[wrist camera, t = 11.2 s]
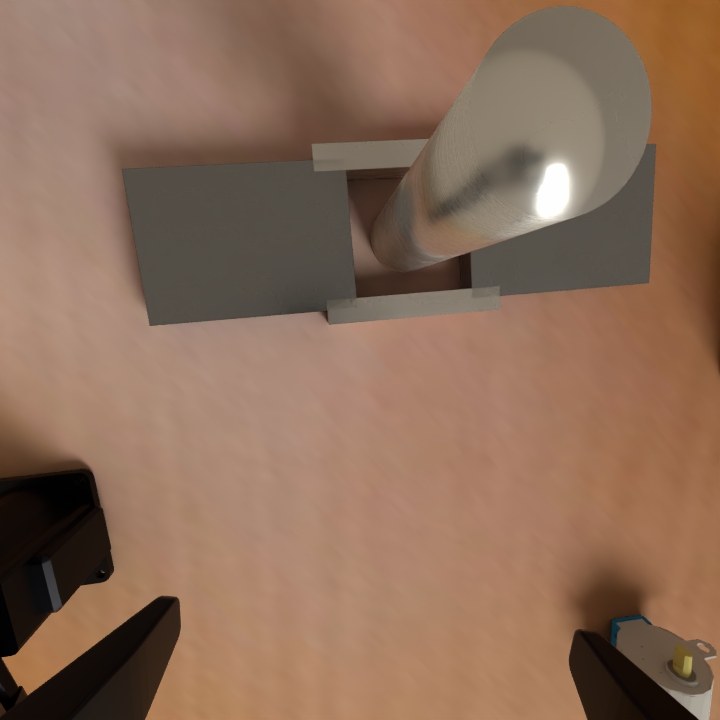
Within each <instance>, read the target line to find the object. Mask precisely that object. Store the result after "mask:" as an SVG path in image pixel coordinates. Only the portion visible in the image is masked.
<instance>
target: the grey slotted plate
mask: <svg viewBox="0 0 720 720" xmlns="http://www.w3.org/2000/svg"><path fill="white" fill-rule="evenodd" d="M428 140H429V139H413V140H389V141H366V142H343V143H320V144H312V159H313V160H303V161H282V162H261V163H240V164H219V165H197V166H176V167H155V168H134V169H122V173H123V178H124V184H125V190H126V195H127V201H128V206H129V212H130V218H131V223H132V229H133V235H134V240H135V246H136V251H137V257H138V263H139V268H140V274H141V279H142V285H143V291H144V296H145V302H146V308H147V313H148V319H149V324H150V326H154V325H166V324H177V323H189V322H201V321H212V320H224V319H236V318H247V317H259V316H271V315H282V314H294V313H306V312H317V311H327V315H328V324H329V325H330V324H342V323H353V322H364V321H375V320H386V319H398V318H409V317H420V316H431V315H442V314H454V313H465V312H476V311H487V310H498V309H500V296H504V295H516V294H528V293H539V292H551V291H563V290H574V289H586V288H598V287H609V286H621V285H633V284H644V283H649V275H650V255H651V235H652V214H653V194H654V174H655V153H656V144H646V147H645V150H644V153H643V155H642V157H641V159H640V162H639V164H638V166H637V167H636V169H635V171H634V173H633V174H632V176H631V177H630V178H629V180H628V181H627V183H626V184H625V185H624V186H623V187H622V188H621V189H620V190H619V192H618V193H617V194H616V195H614V196H613V197H612V198H611V199H610V200H608V201H607V202H606V203H604V204H603V205H601V206H600V207H598V208H596V209H594V210H592V211H590V212H588V213H585V214H582V215H579V216H576V217H573V218H570V219H567V220H564V221H561V222H558V223H555V224H552V225H549V226H546V227H543V228H540V229H537V230H534V231H531V232H528V233H525V234H522V235H519V236H516V237H513V238H510V239H507V240H504V241H501V242H498V243H495V244H492V245H489V246H486V247H483V248H480V249H477V250H474V251H471V252H468V253H465V254H462V255H460V280H461V289H459V290H447V291H435V292H423V293H411V294H399V295H387V296H375V297H363V298H357V297H356V285H355V273H354V261H353V249H352V237H351V225H350V213H349V200H348V188H347V180H358V179H377V178H396V177H404V176H405V175H406V173H407V172H408V170H409V169H410V167H411V166H412V164H413V163H414V161H415V160H416V158H417V157H418V155H419V154H420V152H421V151H422V149H423V148H424V146H425V145H426V143H427V142H428Z"/></svg>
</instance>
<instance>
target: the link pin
mask: <svg viewBox="0 0 720 720" xmlns="http://www.w3.org/2000/svg"><path fill="white" fill-rule="evenodd" d="M651 115H652V100H651V91H650V84H649V80H648V76H647V73H646V70H645V67H644V64H643V62H642V59H641V57H640V55H639V54H638V52H637V50H636V48H635V46H634V45H633V44H632V42H631V41H630V40H629V38H628V37H627V36H626V35H625V34H624V33H623V32H622V31H621V29H620V28H619V27H617V26H616V25H615V24H614V23H612V22H611V21H610V20H608V19H607V18H605V17H603V16H601V15H600V14H598V13H595V12H592V11H590V10H587V9H583V8H578V7H572V6H558V7H549V8H546V9H542V10H538V11H536V12H533V13H531V14H529V15H527V16H525V17H523V18H521V19H520V20H518V21H517V22H515V23H514V24H512V25H511V26H510V27H509V28H508V29H507V30H506V31H504V32H503V33H502V34H501V36H500V37H499V38H498V39H497V40H496V41H495V42H494V44H493V45H492V47H491V48H490V49H489V51H488V52H487V54H486V55H485V57H484V58H483V60H482V61H481V63H480V64H479V66H478V67H477V69H476V70H475V72H474V73H473V75H472V76H471V78H470V79H469V81H468V82H467V84H466V85H465V87H464V88H463V90H462V91H461V93H460V94H459V96H458V97H457V99H456V100H455V102H454V103H453V105H452V106H451V108H450V109H449V111H448V112H447V114H446V115H445V116H444V118H443V119H442V121H441V122H440V124H439V125H438V127H437V128H436V130H435V131H434V133H433V134H432V136H431V137H430V139H429V140H428V142H427V143H426V145H425V146H424V148H423V149H422V151H421V152H420V154H419V155H418V157H417V158H416V160H415V161H414V163H413V164H412V166H411V167H410V169H409V170H408V172H407V173H406V175H405V176H404V178H403V179H402V181H401V182H400V184H399V185H398V187H397V188H396V190H395V191H394V193H393V194H392V196H391V197H390V198H389V200H388V201H387V203H386V204H385V206H384V207H383V209H382V210H381V212H380V213H379V215H378V216H377V218H376V219H375V221H374V224H373V226H372V230H371V245H372V249H373V251H374V254H375V255H376V257H377V259H378V260H379V261H380V262H381V263H382V264H383V265H384V266H385V267H387V268H389V269H391V270H393V271H396V272H411V271H414V270H417V269H420V268H423V267H426V266H429V265H432V264H435V263H438V262H441V261H444V260H447V259H450V258H453V257H456V256H459V255H462V254H465V253H468V252H471V251H474V250H477V249H480V248H483V247H486V246H489V245H492V244H495V243H498V242H501V241H504V240H507V239H510V238H513V237H516V236H519V235H522V234H525V233H528V232H531V231H534V230H537V229H540V228H543V227H546V226H549V225H552V224H555V223H558V222H561V221H564V220H567V219H570V218H573V217H576V216H579V215H582V214H585V213H588V212H590V211H592V210H594V209H596V208H598V207H600V206H601V205H603V204H604V203H606V202H607V201H608V200H610V199H611V198H612V197H613V196H614V195H616V194H617V193H618V192H619V190H620V189H621V188H622V187H623V186H624V185H625V184H626V183H627V181H628V180H629V178H630V177H631V176H632V174H633V173H634V171H635V169H636V167H637V166H638V164H639V162H640V159H641V157H642V155H643V153H644V150H645V147H646V143H647V140H648V136H649V131H650V126H651Z"/></svg>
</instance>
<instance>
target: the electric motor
mask: <svg viewBox="0 0 720 720" xmlns="http://www.w3.org/2000/svg"><path fill="white" fill-rule="evenodd" d="M611 644H612V645H613V646H614V647H616V648H617V649H618V650H619V651H620V652H621V653H623V654H624V655H625V656H626V657H627V658H628V659H630V660H631V661H632V662H633V663H634V664H635V665H637V666H638V667H639V668H640V669H641V670H642V671H643V672H645V673H646V674H647V675H648V676H649V677H650V678H652V679H653V680H654V681H655V682H656V683H657V684H659V685H660V686H661V687H662V688H663V689H664V690H665V691H667V692H668V693H669V694H670V695H671V696H672V697H674V698H675V699H676V700H677V701H678V702H679V703H681V704H682V705H683V706H684V707H685V708H686V709H688V710H689V711H690V712H691V713H692V714H693V715H694V716H696V717H697V718H698V719H699V720H709V714H710V706H711V697H712V689H713V680H714V676H713V673H712V670H711V668H710V666H709V665H708V663H707V662H706V661H705V660H707V659H712V658H716V650H715V649H714V648H713V647H712V646H711V645H710V644H709V643H706V642H704V641H701V640H699V639H696V640H690V641H685V640H684V639H682V638H681V637H679V636H677V635H675V634H674V633H672V632H670V631H668V630H666V629H663V628H661V627H657V626H654V625H652V624H651V623H650V622H649V621H648V620H647V619H646V618H645V617H644V616H641V615H637V616H631V617H624V618H618V619H613V620H612V628H611ZM698 645H703V646H705V647H707V648H708V649H710V652H709V653H707V652H705V651H703V650H701V649H700V648H699V647H698Z"/></svg>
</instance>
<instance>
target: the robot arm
mask: <svg viewBox="0 0 720 720" xmlns="http://www.w3.org/2000/svg"><path fill="white" fill-rule="evenodd" d="M79 477H82V478H83V479H84V482H82V481H80V479H79ZM110 550H111V545H110V540H109V536H108V531H107V527H106V522H105V517H104V513H103V509H102V508H101V506H100V502H99V497H98V493H97V488H96V483H95V479H94V476H93V473H92V472H90V471H89V470H87V469H79V470H70V471H62V472H53V473H45V474H36V475H28V476H20V477H11V478H3V479H0V720H145V718H146V716H147V714H148V711H149V709H150V707H151V704H152V702H153V699H154V697H155V694H156V692H157V689H158V687H159V684H160V682H161V680H162V677H163V675H164V672H165V670H166V667H167V665H168V662H169V660H170V657H171V655H172V652H173V650H174V647H175V645H176V642H177V640H178V637H179V634H180V629H181V620H180V602H179V599H178V598H177V597H172V596H160V597H158V598H156V599H155V600H154V601H152V602H151V603H150V604H148V605H147V606H146V607H144V608H143V609H142V610H140V611H139V612H138V613H136V614H135V615H134V616H132V617H131V618H130V619H128V620H127V621H126V622H125V623H123V624H122V625H121V626H119V627H118V628H117V629H115V630H114V631H113V632H111V633H110V634H109V635H107V636H106V637H105V638H103V639H102V640H101V641H99V642H98V643H97V644H95V645H94V646H93V647H91V648H90V649H89V650H88V651H86V652H85V653H84V654H82V655H81V656H80V657H78V658H77V659H76V660H74V661H73V662H72V663H70V664H69V665H68V666H66V667H65V668H64V669H62V670H61V671H60V672H58V673H57V674H56V675H54V676H53V677H52V678H51V679H49V680H48V681H47V682H45V683H44V684H43V685H41V686H40V687H39V688H37V689H36V690H35V691H33V692H32V693H31V694H29V695H27V694H26V692H25V690H24V688H23V687H22V686H19V687H18V685H17V684H16V682H15V680H14V679H13V677H12V675H11V673H10V672H9V670H8V668H7V667H6V665H5V663H4V661H3V660H2V658H1V657H7V656H12V655H15V654H16V653H17V652H18V651H19V650H20V649H21V648H22V646H23V645H24V644H25V643H26V642H27V641H28V639H29V638H30V637H31V636H32V635H33V634H34V633H35V631H36V630H37V629H38V628H39V627H40V626H41V624H42V623H43V622H44V621H45V620H46V619H47V617H48V616H49V615H50V614H51V613H54V612H58V611H59V610H60V609H61V608H62V607H63V606H64V604H65V603H66V602H67V601H68V600H69V599H70V597H71V596H72V595H73V594H74V593H75V591H76V590H77V589H78V588H79V587H80V586H81V585H88V584H95V583H101V582H105V581H107V580H108V579H109V578H110V576H111V575H112V574H113V572H114V566H113V561H112V557H111V552H110ZM100 570H102V571H104V572H105V573H102V572H101V571H100ZM569 667H570V671H571V674H572V677H573V680H574V682H575V685H576V688H577V691H578V694H579V697H580V700H581V702H582V705H583V708H584V711H585V714H586V717H587V720H699V719H698V718H697V717H696V716H694V715H693V714H692V713H691V712H690V711H689V710H688V709H686V708H685V707H684V706H683V705H682V704H681V703H679V702H678V701H677V700H676V699H675V698H674V697H672V696H671V695H670V694H669V693H668V692H667V691H665V690H664V689H663V688H662V687H661V686H660V685H659V684H657V683H656V682H655V681H654V680H653V679H652V678H650V677H649V676H648V675H647V674H646V673H645V672H643V671H642V670H641V669H640V668H639V667H638V666H637V665H635V664H634V663H633V662H632V661H631V660H630V659H628V658H627V657H626V656H625V655H624V654H623V653H621V652H620V651H619V650H618V649H617V648H616V647H614V646H613V645H612V644H611V643H610V642H609V641H608V640H606V639H605V638H604V637H603V636H602V635H601V634H599V633H598V632H596V631H593V630H583V629H578V630H576V631H575V633H574V637H573V641H572V646H571V650H570V655H569Z"/></svg>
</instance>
